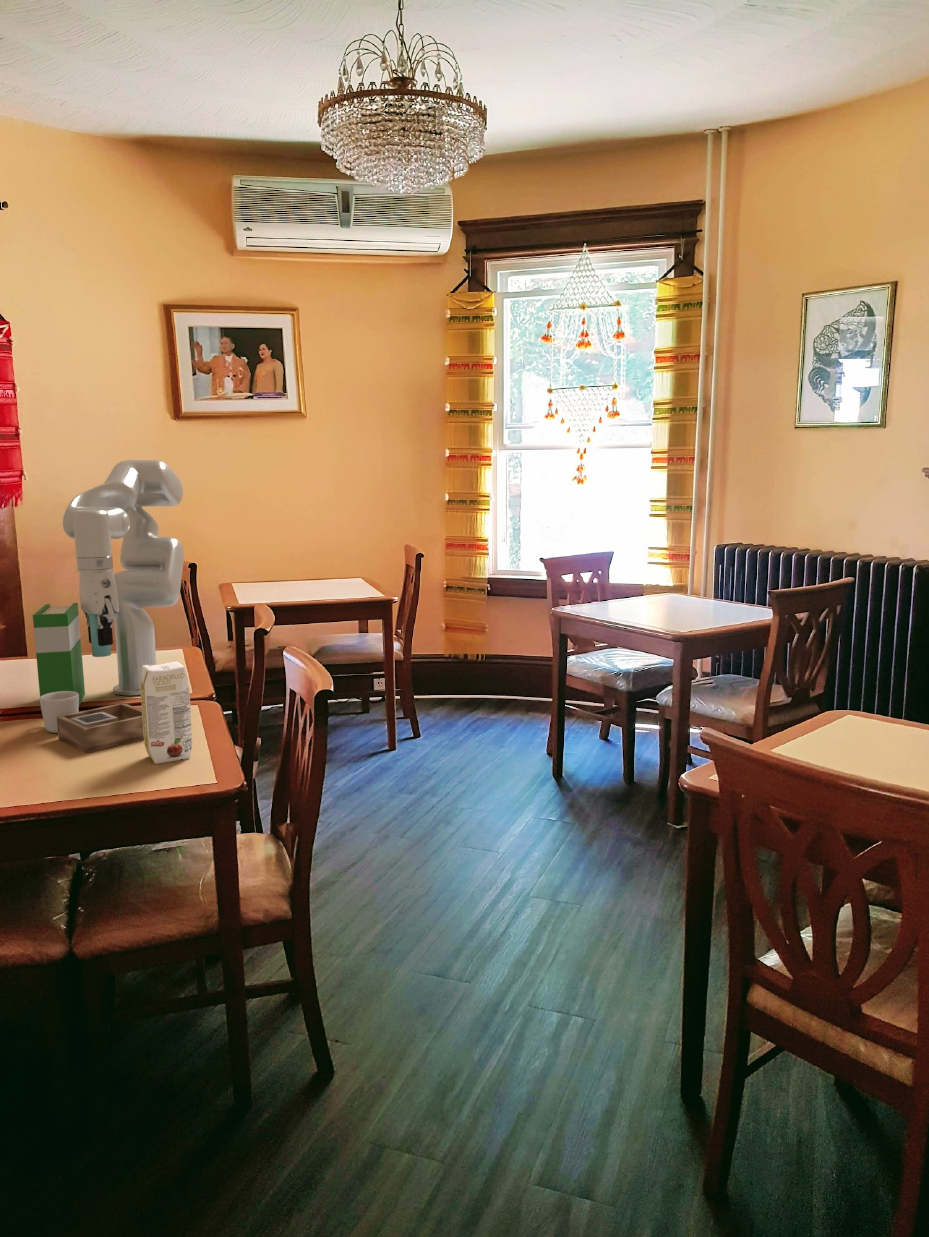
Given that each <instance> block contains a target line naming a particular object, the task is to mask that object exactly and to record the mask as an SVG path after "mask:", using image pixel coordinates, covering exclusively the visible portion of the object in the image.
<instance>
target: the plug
mask: <svg viewBox="0 0 929 1237" xmlns="http://www.w3.org/2000/svg"><path fill="white" fill-rule="evenodd" d="M103 614H107V613H106V611H105V612H103V613H102V615H103ZM104 618H106V617H102V621H103V619H104ZM89 619H90V631H91V643H90V644H91V654H92V657H93V658H94V657H95V658H102V657H103V658H104V657H109V656H111V655H112V649H111V648H112V647H111V646H112V645H106V646H99V645H98V634H97V629H99V626H98V620H97V615H94V614H91V613H89Z"/></svg>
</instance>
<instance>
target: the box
mask: <svg viewBox="0 0 929 1237" xmlns="http://www.w3.org/2000/svg"><path fill="white" fill-rule="evenodd" d="M98 712H105V713H107V714H110V715H112V716H115V717H117V718H118V721H116V722H111V723H107V724H102V725H97V726H93V727H86V726H83V725H81V724H79V723H77V722H74V721H72V720H71V718H74V717H79V716H84V715H89V714H93V713H98ZM57 727H58V733H57V737H58V739H57V740H60V741H62V742H64V743H65V744H68V745H70V746H71V747H74V748H76V749H78V750H80V751H82V752H84V753H86V754H88V753H89V754H90V753H93V752H96V751H97V752H98V751H102V750H106V749H109V748H113V746H114V747H118V746H117V745H119V746H123V745H126V744H125V743H127V744H130V742H131V743H134V742H133V741H135V742H138V741H137V740H139V741H142V739H143V740H144V732H143V717H142V708H139V707H136V706H133V705H130V704H128V703H126V702H122V703H117V704H112V705H107V706H101V707H97V708H93V709H88V710H87V709H86V710H82V711H78V712H77V713H72V714H67V715H62V716H57ZM105 748H106V749H105Z"/></svg>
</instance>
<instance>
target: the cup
mask: <svg viewBox="0 0 929 1237" xmlns="http://www.w3.org/2000/svg"><path fill="white" fill-rule="evenodd" d="M38 699H39V704H40V711H41V710H42V713H41V715H42V718H43V723H44V727H45V729H46V731H47V732H49V733H53V734H55V733H56V734H58V727H57V716H62V715H67V714H72V713H77V712H79V707H80V705H79V694H78V693H77V692H73V691H60V692H52V693H48V694H45V695H42V696H41V697H40V696H39V698H38Z"/></svg>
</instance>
